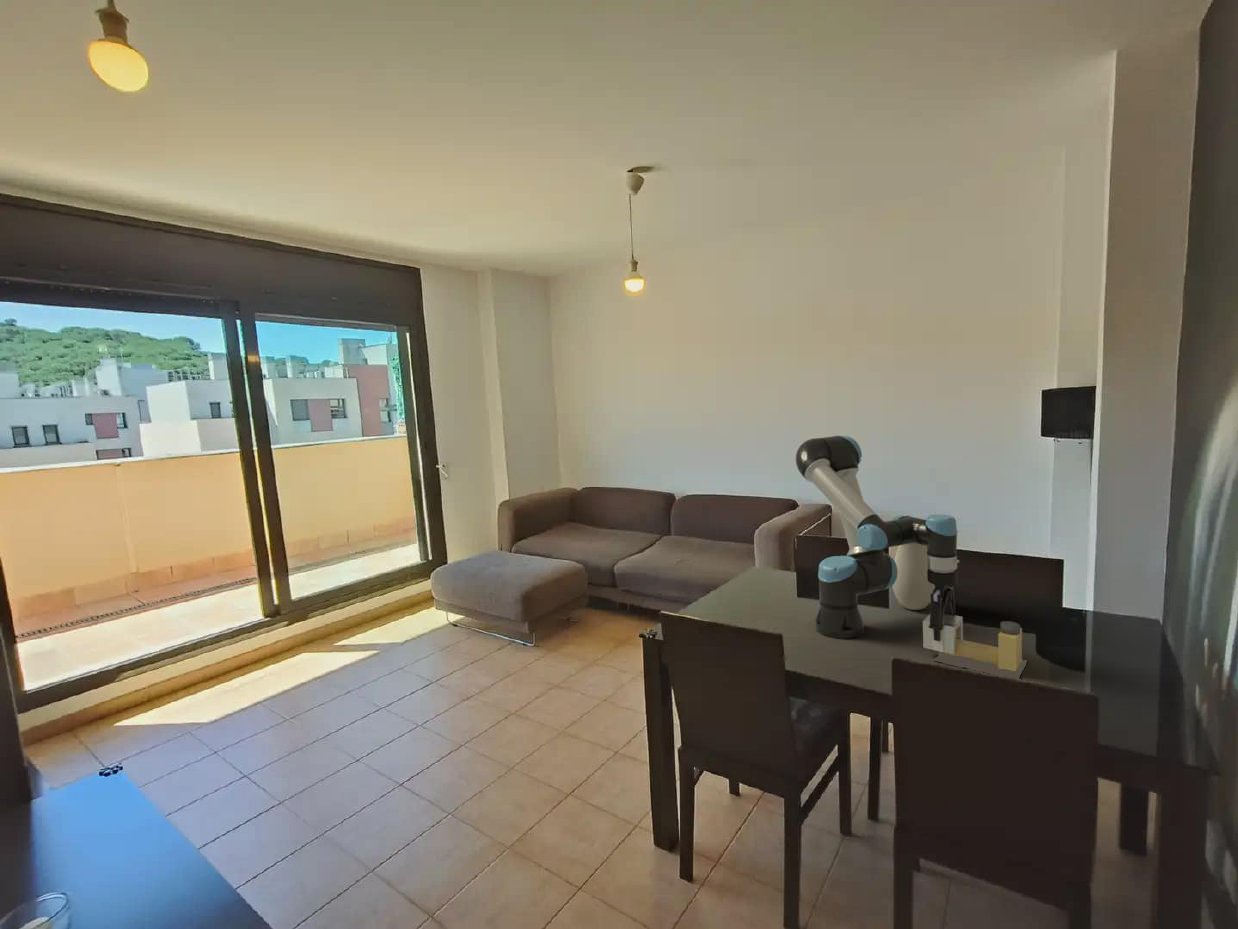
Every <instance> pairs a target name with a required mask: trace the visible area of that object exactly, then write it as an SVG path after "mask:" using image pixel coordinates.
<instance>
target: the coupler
mask: <svg viewBox="0 0 1238 929" xmlns="http://www.w3.org/2000/svg"><path fill="white" fill-rule="evenodd" d="M999 626H1000V631H999V633H998V634H997V641H998V642H997V646H994V645H988V644H984V643H979V642H974V641H970V640H965V639H963V640H961V639H956V653H955V654H950V653H946V655H952V656H963V657H967V658H973V659H975V660H980V661H983V662H990V663H994V664H997V665H998V668H999V669H1007V670H1011V671H1016V670H1017V669H1018V667H1019V665H1020V663H1021V662H1022V659H1023V628H1022V627H1021V624H1019V623H1017V622H1015V621H1009V620H1006V621H1005V620H1004V621H1003V620H1002V621H1000V623H999Z"/></svg>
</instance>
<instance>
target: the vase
mask: <svg viewBox="0 0 1238 929" xmlns="http://www.w3.org/2000/svg"><path fill="white" fill-rule="evenodd" d="M893 559H894V561H895V563H896V565H897V571H898V574H897V579H896V581H895V583H894V584H893V585H892V586H891V588H892V591H893V593H894V596H895V598H896V599H897V602H898V603H899V604H900V605H901V606H902V607H904V608H905V609H906V610H907V609H908V610H912V611H913V610H914V611H920V610H923V609H925V608H926V607H927V606H928V605H929V604H930V603H931V596H930V595H931V593H933V589H935V585H934V584H931V583H930V582H928V580H927V570H928V569H929V568H928V567H927V546H924V545H920V544H916V543H909V544H904V545H899V546H897V550H896V553H895V557H894V558H893Z"/></svg>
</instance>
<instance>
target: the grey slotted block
mask: <svg viewBox="0 0 1238 929" xmlns="http://www.w3.org/2000/svg"><path fill="white" fill-rule="evenodd" d="M963 618H964V617H963V616H961V615H960V616H959V615H957V616H955V615H949V614H944V617H943V626H942V629H944V652H945V653H950V654H955V653H956V639H961V640H964V622H963V621H964V619H963ZM929 626H930V613H929V614H928V615H927V616H926V617H925V618H924V619H923V620H922V633H923V634H922V641H923V642H922V643H923V644H922V646H923V648H924V649H929V650H932V651H934V650H933V641H932V629H931V628H929Z"/></svg>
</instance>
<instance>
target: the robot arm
mask: <svg viewBox="0 0 1238 929" xmlns="http://www.w3.org/2000/svg"><path fill="white" fill-rule="evenodd" d="M862 456H863V454H862V450H861V446H860V444H859V443H858V442H857V441H856V440H855V438H852V437H851V436H847V435H834V436H826V437H817V438H816V437H815V438H809V439H807V440H805V441H804V442H803V443H802V444H801V445H800V446H799V447H798V448H797V451H796V453H795V464H796V467H797V470H798V472H799V473H800V474H801V476H802V477H803V478H804V479H805V480H806V481H807V482H810V483H813V485H814V486H816V488H817V489H818V490H819V491H820V492H821V493H822V494H823V495H824V497H826V498H827V500H828V501H829V502H830V503H831V504H832V505H833V506H834V507H835V509H837V511H838V512H839V516H840V519H841V523H842V526H843V530H844V533H845V537H846V540H847V544H848V547H849V548H848V549H849V550H848V551H847V554H846V555H839V556H838V555H835V556H834V555H833V556H829V557H826V558H824V559H823V560H822V561H820V563H819V565H818V574H817V577H818V587H819V588H818V589H819V592H818V593H819V606H818V610H817V613H816V616H815V620H814V629H815V631H816V632H818V633H819V634H820V635H823V636H826V637H829V638H835V639H853V638H857V637H861V636H862V635H863V634H864V632H865V623H864V620H863V618H862V616H861V613H860V609H859V605H858V602H859V601H858V600H859V599H858V596H862V595H866V594H870V593H875V592H881V591H882V592H883V591H884V590H887V589H889V588H892V585H893V584H894V583H895V581H896V579H897V574H898V571H897V565H896V563H895V561H894V559H895V558H892V555H890V554H888V553H885V550H884V549H888V548H893V547H898V546H899V545H904V544H909V543H916V544H920V545H924V546H927V567H928V568H929V569H928V570H927V580H928V582H930V583H931V584H934V585H935V589H933V593H931V595H930V596H931V601H930V612H929V614H930V626H929V628H931V629H932V641H933V650H932V651H936V652H939V653H940V652H944V629H942V626H943V617H944V614H949V615H955V616H958V614H956V611H957V610H956V603H955V602H956V601H955V592H954V591H955V590H954V588H955V587H954V586H956V585H957V584H958V571H957V569H958V564H959V563H960V560H959V559H957V558H958V553H957V552H958V550H957V547H958V546H957V545H958V528H957V520H956V518H955V517H954V516H952V515H949V514H941V513H940V514H939V513H938V514H930V515H928V516H926V519H923V518H919V517H914V516H911V515H897V516H895V517H894V518H893V519H892V520H888V521H884V520H883V519H882V517H880V516H879V515H878V514H877V513H876V512H875V511H874V510H873V509H872V508H871V506H869V505H868V504H867V503H866V502H865V500H864V497H863V495H862V492H861V488H860V484H859V482H858V479H857V478H858V477H857V473H858V472H859V470H860V468H859V465H860V463H861V461H862Z"/></svg>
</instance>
